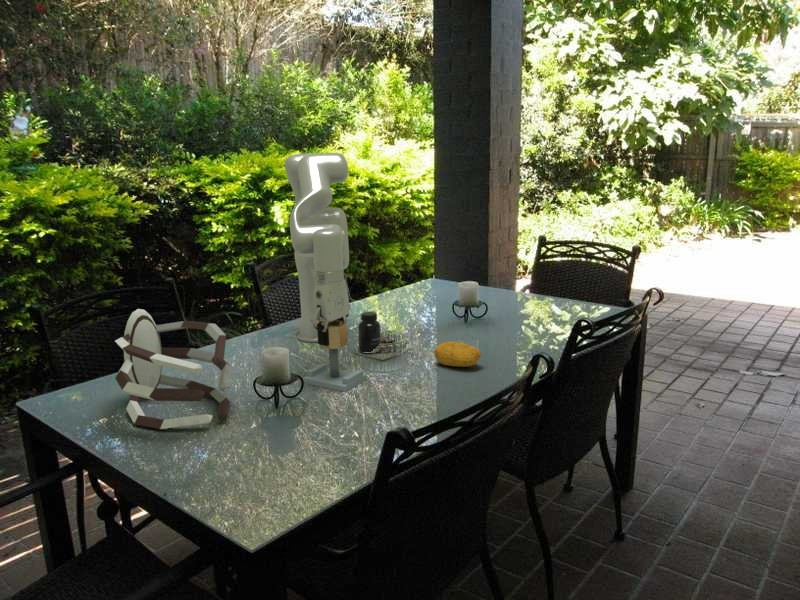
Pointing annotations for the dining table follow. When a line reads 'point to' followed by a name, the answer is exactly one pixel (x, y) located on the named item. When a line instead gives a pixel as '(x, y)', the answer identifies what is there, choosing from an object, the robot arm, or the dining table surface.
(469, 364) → the potato
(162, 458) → the dining table surface
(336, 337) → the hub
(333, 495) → the dining table surface
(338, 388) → the shaft stand
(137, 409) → the disc with segmented arms
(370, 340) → the supplement bottle
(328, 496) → the dining table surface
